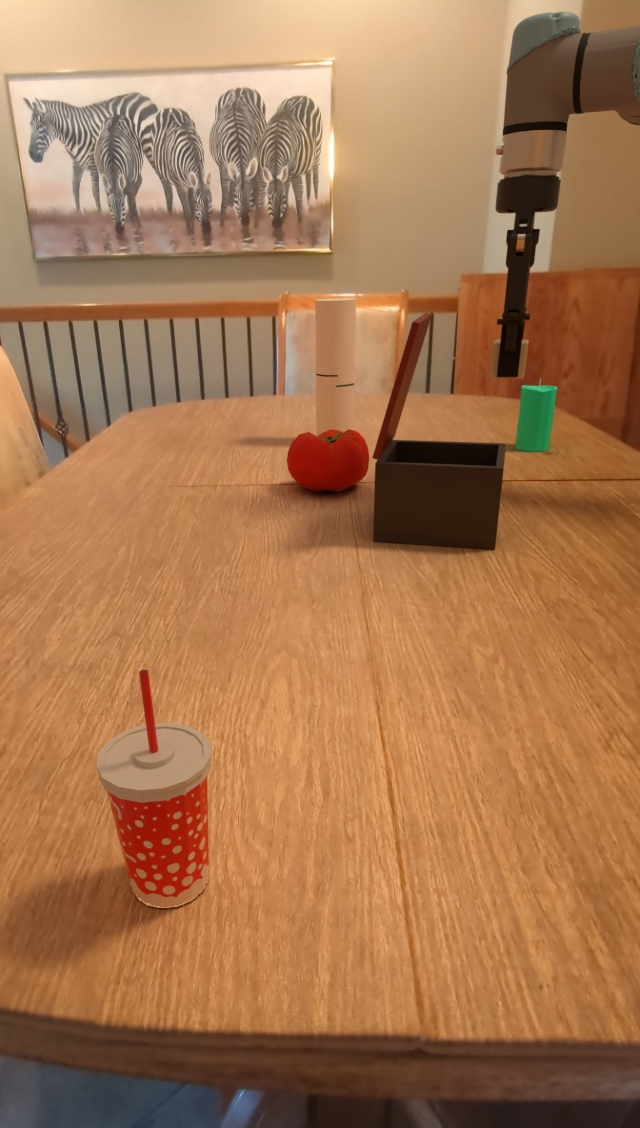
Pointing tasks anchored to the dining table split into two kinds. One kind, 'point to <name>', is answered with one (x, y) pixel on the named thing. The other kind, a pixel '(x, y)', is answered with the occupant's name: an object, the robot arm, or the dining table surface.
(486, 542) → the open box
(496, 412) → the dining table surface
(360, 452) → the tomato
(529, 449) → the candle
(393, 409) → the box lid
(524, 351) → the block
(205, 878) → the beverage cup
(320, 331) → the cylindrical container
